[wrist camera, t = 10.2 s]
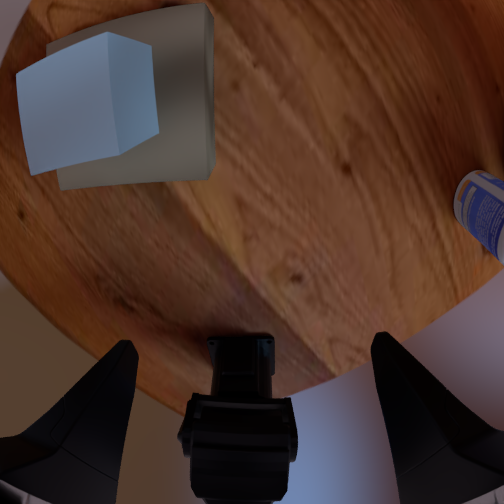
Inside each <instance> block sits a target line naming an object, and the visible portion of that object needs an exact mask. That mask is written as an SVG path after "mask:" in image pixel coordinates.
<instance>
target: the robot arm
mask: <svg viewBox="0 0 504 504" xmlns="http://www.w3.org/2000/svg"><path fill="white" fill-rule="evenodd" d="M269 340H270V341H269ZM207 346H208V349H209V353H210V357H211V360H212V364H213V367H214V368H213V377H212V385H211V394H210V395H202V394H199V393H193V394H192V398H191V400H189V401H188V402H187V408H186V414H185V417H184V420H183V422H182V425H181V427H180V430H179V432H178V436H177V439H178V440H179V441H180V443H181V444H182V448H183V453H184V456H185V457H186V458H190V481H191V488H192V490H193V492H194V494H195V496H196V497H197V498H202V499H203V500H204V502H205V503H206V504H272V503H273V502H274V501H281V500H282V498H283V496H284V495H285V493H286V492H287V488H288V476H289V463H290V462H294V461H295V460H296V456H297V450H298V434H297V427H296V422H295V417H294V412H293V407H292V402H291V398H290V397H285V398H272V378H271V376H272V375H274V374H275V341H274V337H273V336H244V337H209V338H208V339H207ZM371 357H372V364H373V370H374V377H375V383H376V389H377V393H378V396H379V401H380V405H381V408H382V413H383V416H384V421H385V425H386V429H387V434H388V439H389V443H390V448H391V453H392V458H393V463H394V468H395V474H396V478H397V479H396V480H397V486H398V492H399V499H400V504H504V431H501V430H498V429H495V428H493V427H492V426H490V425H489V424H487V423H486V422H485V421H484V420H482V419H481V418H480V417H479V416H477V415H476V414H475V413H474V412H472V411H471V410H470V409H469V408H468V407H466V406H465V405H464V404H463V403H462V402H461V401H459V400H458V399H457V398H456V397H455V396H454V395H453V394H452V393H451V392H450V391H449V390H446V387H445V386H444V385H443V384H442V383H441V382H440V381H439V380H438V379H437V378H436V377H435V376H433V375H432V374H431V373H430V372H429V371H428V370H427V369H426V368H425V367H424V366H423V365H422V364H421V363H420V362H419V361H418V360H417V359H416V358H415V357H414V356H412V354H410V353H409V352H408V351H407V350H406V349H405V348H404V347H403V346H402V345H401V344H400V343H399V342H398V341H397V340H396V339H394V338H393V337H392V336H391V335H390V334H389V333H388V332H385V331H384V332H378V333H376V334H375V337H374V339H373V342H372V345H371ZM138 360H139V356H138V353H137V351H136V349H135V347H134V345H133V343H132V341H130V340H120V341H119V342H118V343H117V344H116V345H115V346H114V347H113V348H112V349H111V350H109V351H108V352H107V353H106V354H105V355H104V356H103V357H102V358H101V359H100V360H99V361H98V362H97V363H96V364H95V365H94V366H93V367H92V368H91V369H90V370H89V371H88V372H87V373H86V374H85V375H84V376H83V377H82V378H81V379H80V380H79V381H78V382H77V383H76V384H75V385H74V386H73V387H72V388H71V389H70V390H69V391H68V392H67V393H66V394H65V395H64V397H62V398H61V399H60V400H59V401H58V402H57V403H56V404H55V405H54V406H53V407H52V408H51V409H50V410H49V411H47V412H46V413H45V414H44V415H43V416H42V417H40V418H39V419H38V420H37V421H36V422H34V423H33V424H32V425H31V426H30V427H28V428H27V429H26V430H25V431H23V432H22V433H20V434H18V435H15V436H11V437H3V438H0V504H115V503H116V495H117V486H118V479H119V471H120V466H121V460H122V453H123V448H124V442H125V437H126V431H127V426H128V421H129V416H130V411H131V407H132V402H133V398H134V392H135V385H136V376H137V368H138Z"/></svg>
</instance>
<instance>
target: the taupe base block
mask: <svg viewBox="0 0 504 504" xmlns="http://www.w3.org/2000/svg"><path fill="white" fill-rule="evenodd" d="M105 32H110V33H114V34H117V35H120V36H124V37H127V38H130V39H133V40H136V41H139V42H142V43H145V44H148V45H151V46H152V62H153V76H154V88H155V98H156V108H157V117H158V126H159V134H157V135H155V136H153V137H151V138H149V139H147V140H145V141H144V142H142V143H140V144H138V145H136V146H135V147H133V148H131V149H129V150H128V151H126V152H124V153H123V154H121V155H118V156H112V157H107V158H102V159H97V160H92V161H88V162H83V163H79V164H74V165H70V166H66V167H62V168H58V169H56V171H57V176H58V181H59V186H60V190H69V189H78V188H87V187H97V186H107V185H119V184H131V183H146V182H164V181H187V180H208V178H209V176H210V174H211V172H212V170H213V168H214V166H215V164H216V158H215V124H214V17H213V16H212V14H211V12H210V11H209V9H208V7H207V6H206V4H205V3H196V4H187V5H180V6H173V7H167V8H162V9H156V10H151V11H146V12H142V13H137V14H133V15H129V16H125V17H121V18H118V19H114V20H111V21H107V22H104V23H101V24H98V25H95V26H92V27H89V28H86V29H83V30H81V31H78V32H75V33H73V34H70V35H68V36H65V37H63V38H60V39H58V40H56V41H53V42H51V43H49V44H47V47H46V57H48V56H50V55H52V54H54V53H56V52H58V51H60V50H63V49H65V48H67V47H69V46H72V45H74V44H76V43H79V42H81V41H84V40H86V39H89V38H91V37H94V36H97V35H99V34H102V33H105Z"/></svg>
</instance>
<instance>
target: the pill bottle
mask: <svg viewBox="0 0 504 504" xmlns="http://www.w3.org/2000/svg"><path fill="white" fill-rule="evenodd" d="M454 213H455V216H456V219H457V220H458V222H459V223H460V224H461V225H462V226H463V227H464V228H465V229H466V230H468V231H469V232H470V233H471V234H472V235H473V236H474V237H475V238H476V239H478V240H479V241H480V242H481V243H482V244H483V245H484V246H485V247H486V248H487V249H488V250H489V251H490V252H491V253H492V254H493V255H494V256H495V257H496V258H497V259H498V260H499V261H500V262H501V263H502V264H503V265H504V182H503V181H502V180H500V179H498V178H497V177H495V176H493V175H491V174H490V173H488V172H485V171H482V170H475V171H472V172H470V173H469V174H467V175H466V176H465V177H464V178H463V179H462V181H461V182H460V184H459V185H458V188H457V190H456V193H455V197H454Z"/></svg>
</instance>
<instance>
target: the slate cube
mask: <svg viewBox="0 0 504 504" xmlns="http://www.w3.org/2000/svg"><path fill="white" fill-rule="evenodd" d="M16 82H17V95H18V105H19V113H20V121H21V128H22V134H23V139H24V145H25V150H26V155H27V160H28V164H29V168H30V173H31V176H32V175H36V174H39V173H43V172H47V171H50V170H54V169H58V168H62V167H66V166H70V165H74V164H79V163H83V162H88V161H92V160H97V159H102V158H107V157H112V156H118V155H121V154H123V153H124V152H126V151H128V150H129V149H131V148H133V147H135V146H136V145H138V144H140V143H142V142H144V141H145V140H147V139H149V138H151V137H153V136H155V135H157V134H159V126H158V117H157V108H156V98H155V88H154V76H153V62H152V46H151V45H148V44H145V43H142V42H139V41H136V40H133V39H130V38H127V37H124V36H120V35H117V34H114V33H110V32H105V33H102V34H99V35H97V36H94V37H91V38H89V39H86V40H84V41H81V42H79V43H76V44H74V45H72V46H69V47H67V48H65V49H63V50H60V51H58V52H56V53H54V54H52V55H50V56H48V57H46V58H44V59H42V60H40V61H38V62H36V63H34V64H33V65H31V66H29V67H27V68H25V69H24V70H22V71H20V72H19V73H17V74H16Z"/></svg>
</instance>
